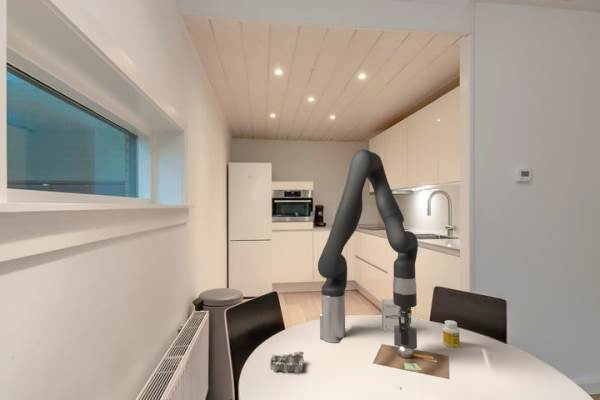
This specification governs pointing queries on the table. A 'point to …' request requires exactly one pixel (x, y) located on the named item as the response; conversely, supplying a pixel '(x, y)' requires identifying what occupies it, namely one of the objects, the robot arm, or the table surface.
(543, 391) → the table surface
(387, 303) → the supplement box
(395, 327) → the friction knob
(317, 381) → the table surface
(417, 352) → the brown flat board
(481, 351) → the table surface
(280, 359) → the egg carton
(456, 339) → the supplement bottle
